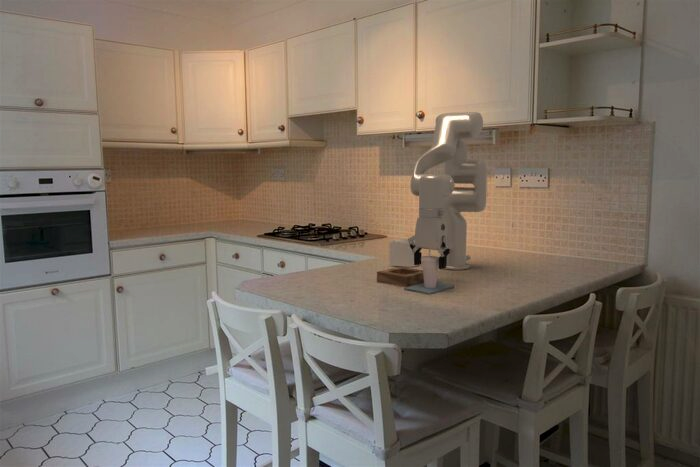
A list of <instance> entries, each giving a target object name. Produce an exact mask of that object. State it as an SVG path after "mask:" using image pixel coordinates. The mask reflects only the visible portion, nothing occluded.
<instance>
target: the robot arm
mask: <svg viewBox="0 0 700 467" xmlns="http://www.w3.org/2000/svg"><path fill="white" fill-rule="evenodd" d="M483 127H484V120H483V116H482V114H481V113H480V112H479V111H463V112H447V113H441V114H439V115H437V116H436V118H435V126H434V132H433V136H432V141H431V146H430V148H429V149H428V150H426V152H424V153H423V154H422V155H421V156H420V157H419V158H418V159H417V161H416V162H415V164H414V166H413V169H412V174H411V178H410V186H409V187H410V191H411V193H412V195H414V196H416V197H418V217H417V219H416V222H415V230H414V231H415V232H414V235H413V236H411V237H408V238H407V239H408V242H409V245H410V248H411V249H412V252H413V253H414V265H418V266H419V265H422V261H421V257H422V252H421V251H422V249H423V250H425V249H426V250H429V249H430V251H431V250H433V251H437V253H438V254H439V256H438V257H439V270H443V269H444V270H452V271H457V270H458V271H459V270H462V271H463V270H468V269H470V268H471V267H470V266H471V265H470V264H469V263H468V262H467V261H470V260H471V258H472V257H471V255H467V233H468V232H467V230H468V226H467V225H468V224H467V220H466V219H465V217H464V216H463V214H462V213H481V212H484V210H485V209H486V207H487V206H486V205H487V190H488V187H487V186H488V185H487V184H488V183H487V182H488V181H487V180H488V173H487V171H488V170H487V164H486V162H485V161H484V160H483V159H481V158H468V145H467V143H466V142H465V140H464V139H474V138H477V137H478V136H479V135H480V134H481V133H482V130H483ZM441 164H444V166H443V167H444V172H443V173H444V174H443V173H442V174H441V173H426V172H427V171H429V170H430V169H432V168H433V167H436V166H438V165H441ZM455 184H459V185H462V184H463V185H467V184H468V185H473V187H472V186H471V187H470V186H468V187H465V186H456V185H455ZM414 240H415V244H414Z"/></svg>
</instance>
